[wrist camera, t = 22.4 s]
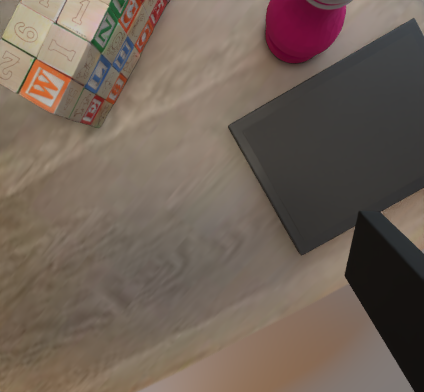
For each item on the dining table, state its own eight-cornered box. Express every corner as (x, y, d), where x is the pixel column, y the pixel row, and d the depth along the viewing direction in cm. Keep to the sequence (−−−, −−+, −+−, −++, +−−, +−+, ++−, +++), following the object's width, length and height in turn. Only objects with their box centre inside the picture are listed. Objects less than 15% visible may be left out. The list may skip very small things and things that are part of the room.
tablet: (299, 253, 42) (301, 256, 41) (227, 126, 41) (228, 125, 40) (477, 154, 41) (485, 153, 40) (408, 22, 40) (414, 17, 39)
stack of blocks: (145, -80, 40) (114, -191, 27) (197, -49, 40) (190, -145, 27) (49, 101, 41) (-22, 73, 29) (100, 130, 41) (51, 114, 29)
